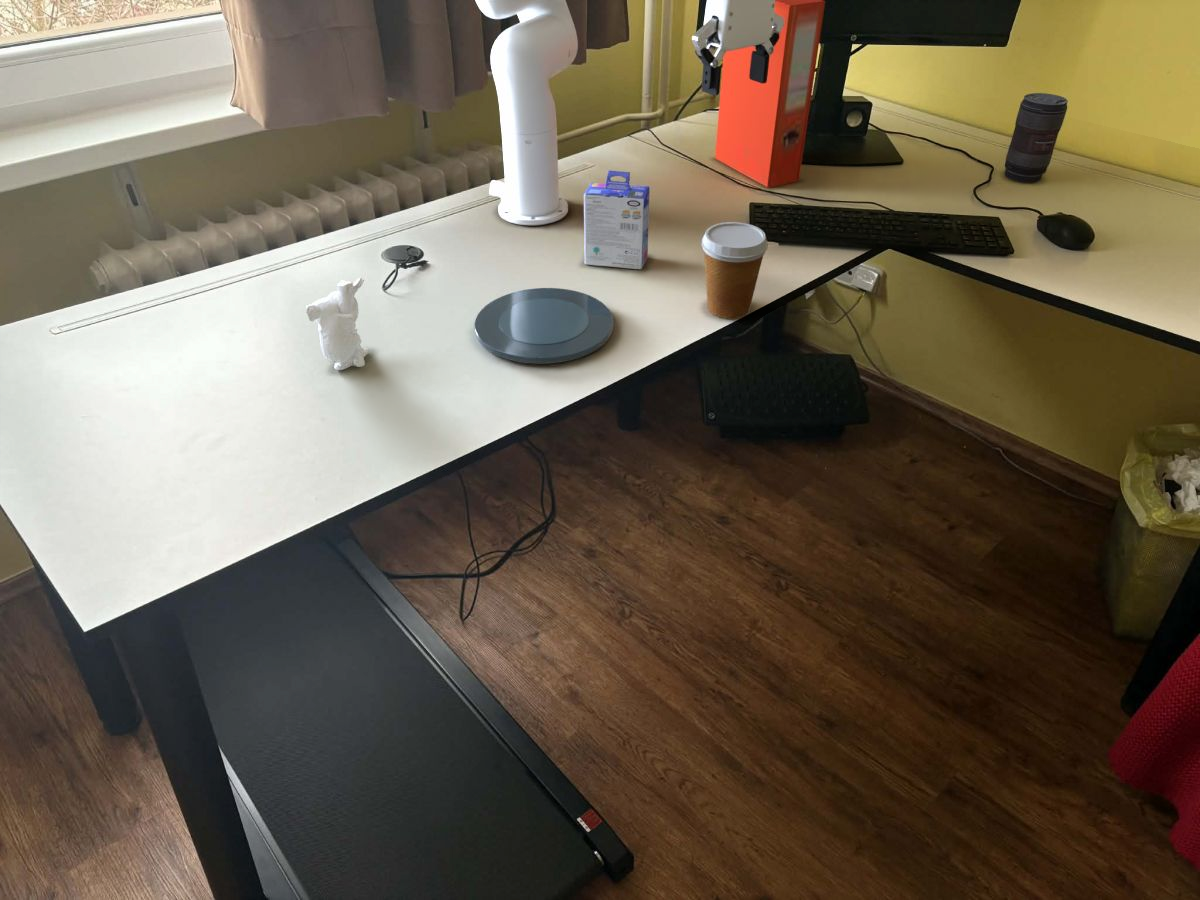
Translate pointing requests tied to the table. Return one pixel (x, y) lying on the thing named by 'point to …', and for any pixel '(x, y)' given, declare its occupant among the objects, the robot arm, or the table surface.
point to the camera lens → (1034, 136)
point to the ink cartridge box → (616, 223)
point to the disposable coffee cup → (732, 267)
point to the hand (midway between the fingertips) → (734, 87)
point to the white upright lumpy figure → (339, 326)
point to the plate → (543, 325)
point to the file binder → (771, 100)
